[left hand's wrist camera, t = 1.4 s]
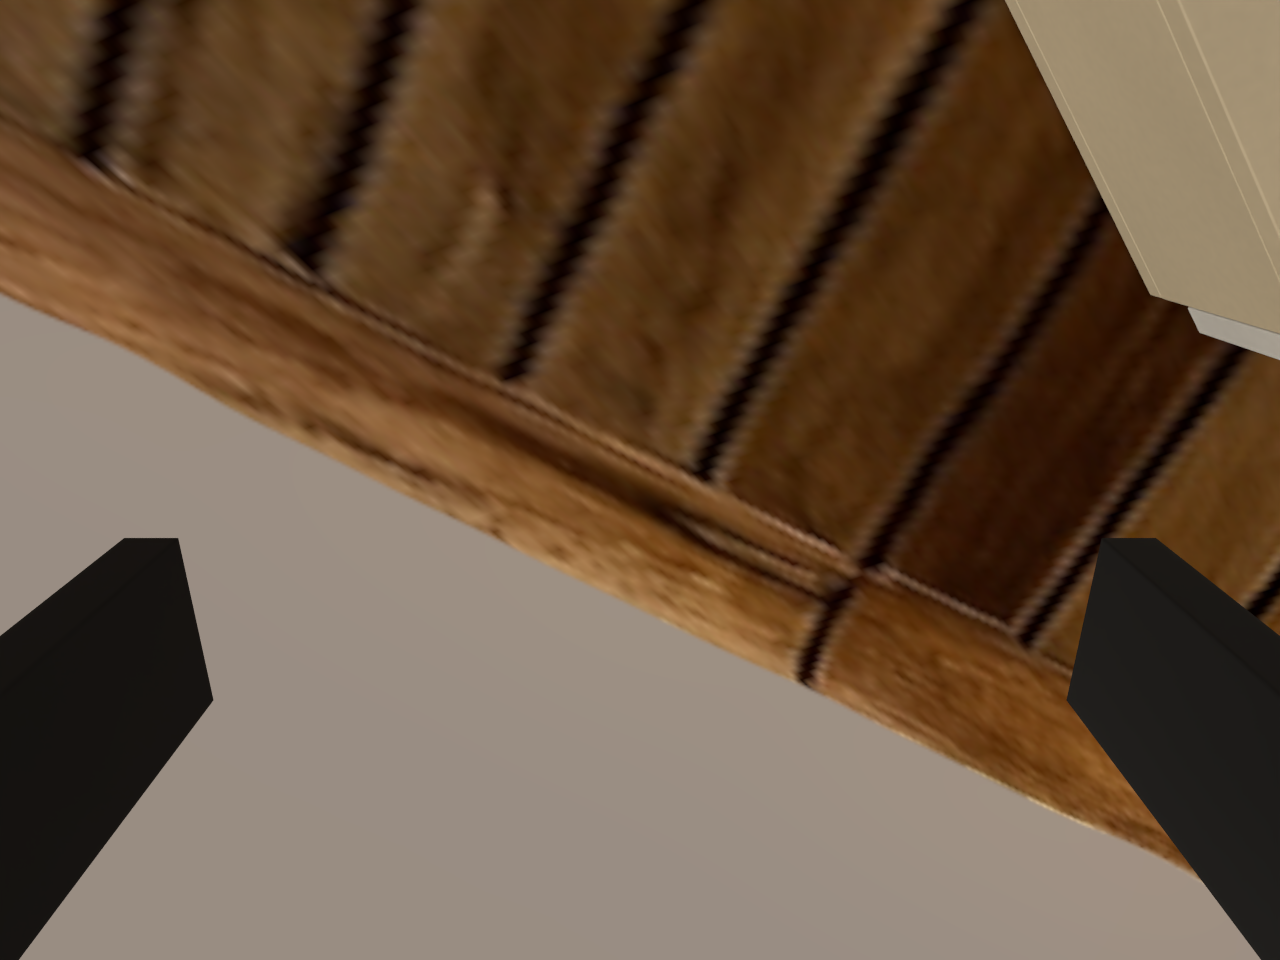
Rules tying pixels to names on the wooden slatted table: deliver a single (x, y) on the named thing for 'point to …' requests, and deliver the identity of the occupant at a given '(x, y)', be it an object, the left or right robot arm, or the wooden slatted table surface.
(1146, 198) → the cabinet
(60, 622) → the left robot arm
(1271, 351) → the drawer
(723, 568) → the wooden slatted table surface
